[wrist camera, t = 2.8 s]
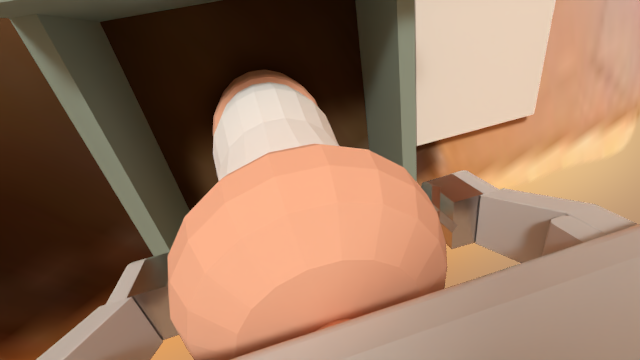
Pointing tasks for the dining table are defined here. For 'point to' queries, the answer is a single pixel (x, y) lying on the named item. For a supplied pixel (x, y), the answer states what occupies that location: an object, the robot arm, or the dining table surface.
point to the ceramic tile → (477, 63)
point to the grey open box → (131, 125)
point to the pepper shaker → (295, 228)
